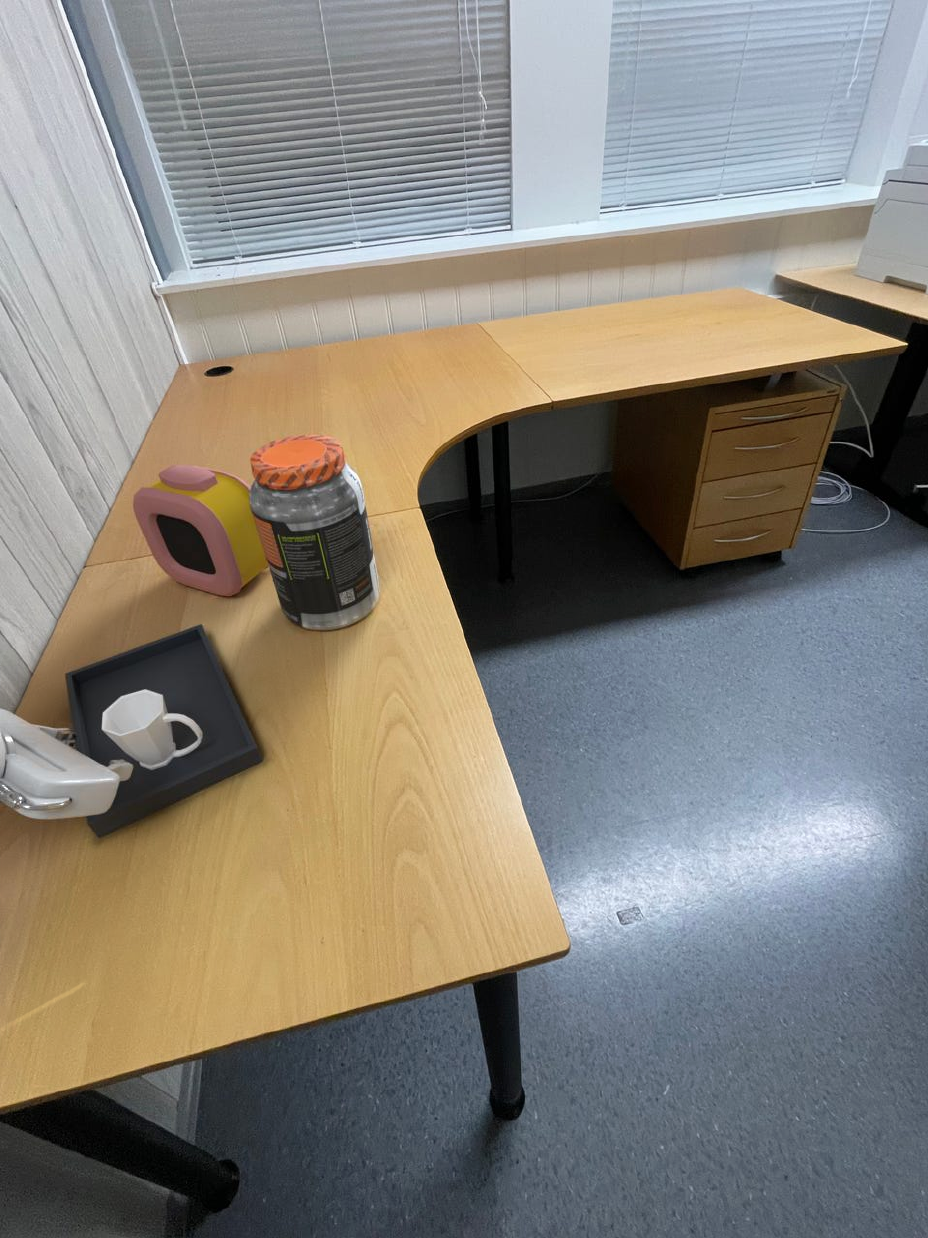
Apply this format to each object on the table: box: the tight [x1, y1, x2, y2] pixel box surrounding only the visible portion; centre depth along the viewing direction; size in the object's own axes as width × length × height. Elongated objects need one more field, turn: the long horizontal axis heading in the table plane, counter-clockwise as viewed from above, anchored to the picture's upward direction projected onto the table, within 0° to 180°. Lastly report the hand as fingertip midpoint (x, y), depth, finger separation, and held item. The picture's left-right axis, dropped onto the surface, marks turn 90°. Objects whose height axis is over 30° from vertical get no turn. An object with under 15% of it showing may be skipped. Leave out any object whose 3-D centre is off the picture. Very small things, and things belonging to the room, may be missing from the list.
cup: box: [102, 689, 203, 770], centre depth 71 cm, size 7×10×8 cm
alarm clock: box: [132, 464, 269, 597], centre depth 98 cm, size 18×11×19 cm, turn 65°
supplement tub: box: [249, 434, 380, 631], centre depth 89 cm, size 16×16×26 cm
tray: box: [64, 623, 263, 839], centre depth 78 cm, size 28×19×3 cm
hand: (98, 753), depth 65 cm, fingers open, 8 cm apart
